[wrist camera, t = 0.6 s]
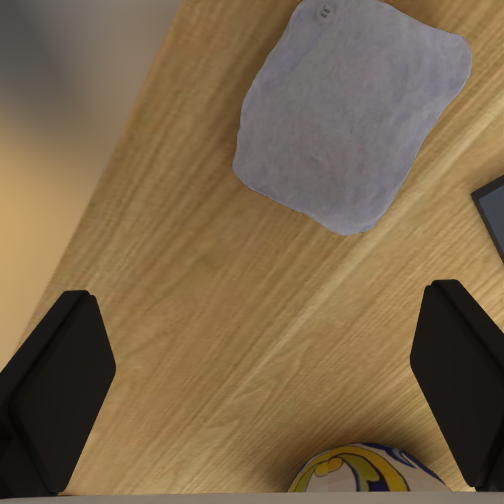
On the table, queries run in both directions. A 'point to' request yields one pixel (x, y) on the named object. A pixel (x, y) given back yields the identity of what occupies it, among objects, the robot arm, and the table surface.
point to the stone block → (346, 109)
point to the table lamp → (366, 471)
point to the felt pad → (492, 211)
